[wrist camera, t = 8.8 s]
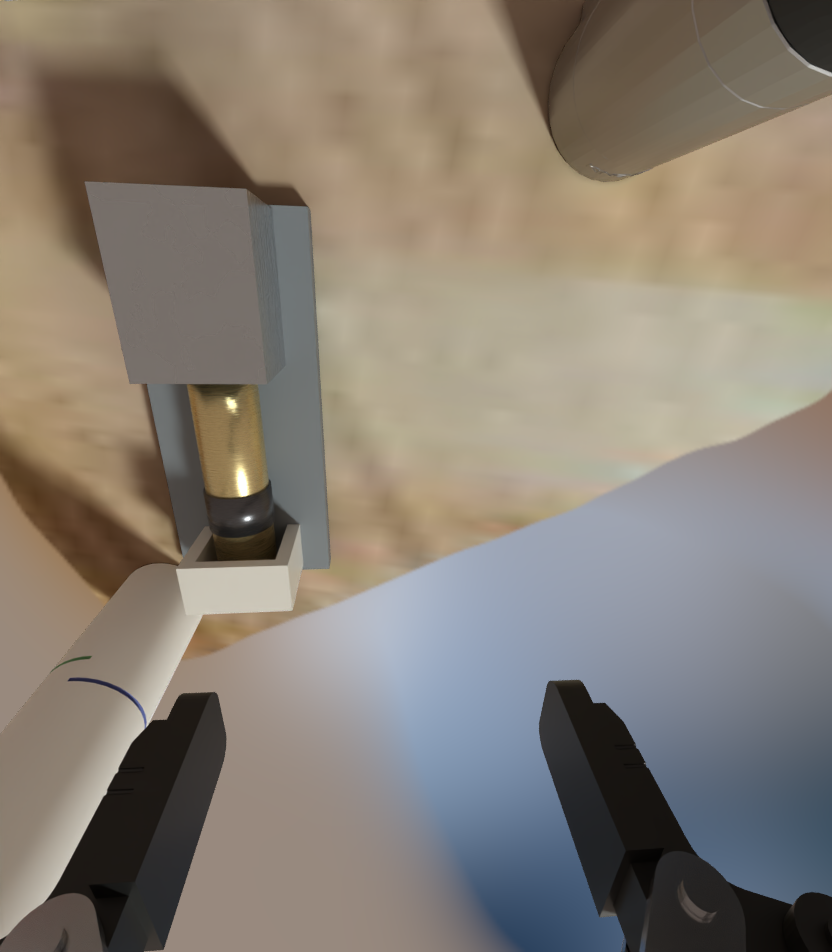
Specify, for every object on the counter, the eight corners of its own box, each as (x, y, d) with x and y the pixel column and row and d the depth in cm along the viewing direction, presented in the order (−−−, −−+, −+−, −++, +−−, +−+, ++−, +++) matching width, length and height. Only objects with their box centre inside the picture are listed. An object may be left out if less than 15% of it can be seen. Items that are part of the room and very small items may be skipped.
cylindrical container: (205, 631, 43) (18, 1033, 20) (123, 623, 41) (-177, 1041, 19) (210, 569, 40) (0, 947, 17) (123, 558, 39) (-228, 950, 16)
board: (120, 202, 29) (107, 198, 28) (310, 210, 30) (307, 206, 29) (192, 563, 40) (186, 573, 38) (330, 559, 41) (329, 568, 39)
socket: (204, 526, 37) (175, 569, 31) (299, 524, 38) (287, 565, 32) (212, 567, 38) (185, 615, 33) (303, 564, 39) (292, 610, 34)
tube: (190, 326, 31) (161, 333, 27) (261, 327, 31) (244, 334, 27) (227, 550, 38) (209, 585, 34) (284, 549, 38) (273, 583, 34)
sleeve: (146, 203, 28) (84, 181, 22) (272, 208, 29) (246, 188, 23) (175, 364, 32) (129, 383, 26) (286, 365, 32) (266, 384, 26)
